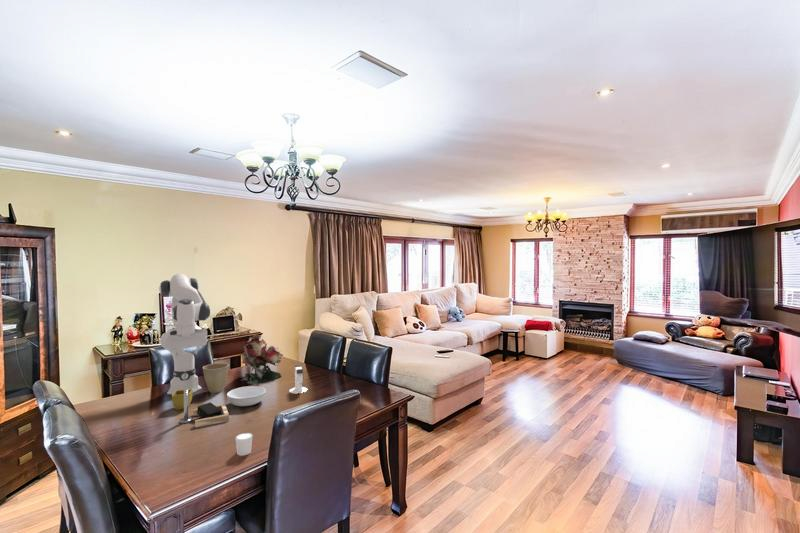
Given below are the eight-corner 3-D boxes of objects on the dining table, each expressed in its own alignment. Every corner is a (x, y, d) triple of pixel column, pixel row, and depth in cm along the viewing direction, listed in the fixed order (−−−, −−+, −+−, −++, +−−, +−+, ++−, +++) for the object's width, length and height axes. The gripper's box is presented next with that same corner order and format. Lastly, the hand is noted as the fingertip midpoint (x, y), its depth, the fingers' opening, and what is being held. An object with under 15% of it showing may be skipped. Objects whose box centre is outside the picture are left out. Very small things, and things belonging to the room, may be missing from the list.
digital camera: (207, 424, 195) (220, 419, 201) (208, 414, 194) (221, 410, 200) (196, 415, 200) (209, 411, 206) (197, 406, 200) (210, 402, 206)
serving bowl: (252, 412, 208) (252, 399, 208) (218, 408, 213) (218, 396, 213) (272, 398, 229) (272, 387, 229) (241, 395, 233) (241, 384, 233)
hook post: (179, 420, 197) (179, 389, 197) (192, 417, 200) (192, 387, 200) (179, 427, 189) (179, 395, 189) (193, 424, 192) (193, 393, 192)
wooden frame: (193, 415, 204) (193, 409, 204) (224, 409, 212) (224, 403, 212) (195, 427, 189) (195, 421, 189) (229, 420, 197) (229, 415, 197)
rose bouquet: (287, 374, 276) (287, 333, 276) (254, 386, 251) (254, 340, 250) (263, 369, 289) (263, 330, 289) (229, 380, 264) (229, 336, 263)
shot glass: (254, 448, 168) (254, 432, 168) (249, 456, 161) (249, 439, 161) (239, 448, 168) (239, 432, 168) (232, 456, 161) (232, 440, 161)
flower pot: (171, 411, 208) (171, 395, 208) (176, 405, 217) (176, 390, 216) (189, 410, 211) (189, 394, 210) (193, 404, 219) (193, 388, 219)
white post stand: (309, 392, 239) (309, 368, 239) (290, 394, 235) (290, 370, 235) (306, 386, 250) (306, 363, 250) (288, 388, 246) (288, 365, 246)
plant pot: (233, 387, 248) (233, 363, 248) (220, 395, 233) (220, 369, 233) (211, 386, 250) (211, 362, 249) (197, 394, 235) (197, 368, 234)
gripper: (206, 327, 215) (206, 351, 215) (164, 330, 204) (164, 356, 205) (207, 329, 209) (207, 354, 210) (164, 332, 199) (164, 359, 199)
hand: (185, 355), depth 207 cm, fingers open, 8 cm apart
